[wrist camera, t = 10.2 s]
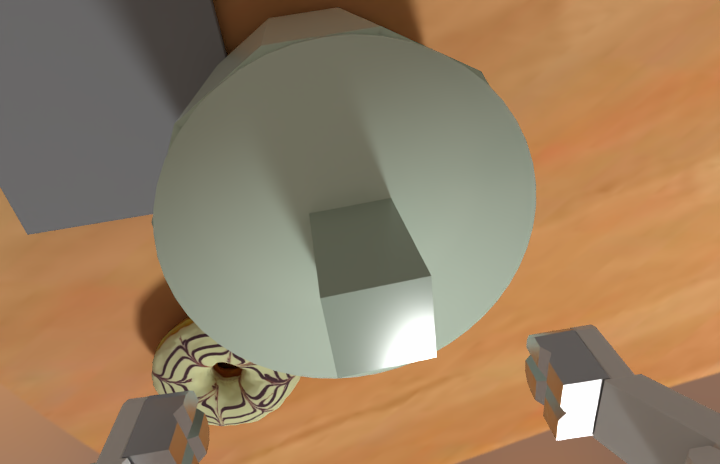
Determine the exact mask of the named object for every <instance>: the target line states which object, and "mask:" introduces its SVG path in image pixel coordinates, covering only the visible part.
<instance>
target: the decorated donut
mask: <svg viewBox="0 0 720 464" xmlns="http://www.w3.org/2000/svg"><path fill="white" fill-rule="evenodd" d="M218 362H225V363H230V364H233V365H235V366H238V367H239V368H235V369H232V368H221V367H219V366H218V365H217V363H218ZM152 363H153V369H152V380H153V386H154V387H155V389H156V391H157V392H158V394H159V395H160V394H167V393H175V392H182V391H194V392H195V394H196V396H197V398H198V400H199V401H198V405H197V409H199V410H201V411H202V412H204V413H205V415H206V417H207V420H208V425H217V426H226V425H238V424H242V423H251V422H255V421H258V420H260V419H261V418H263V417H265V416H266V415H267V414H268V413H270V412H272V411H274V410H276V409H278V408H279V407H280V406H281V404H282V403H283V402H284V400H285V398H286V397H287V396H288V395H289V394H290V393H291V392H292V390H293V389H294V387H295V386H296V384H297V383H298V381H299V379H300V377H301V376H296V375H291V374H287V373H282V372H278V371H274V370H271V369H268V368H265V367H262V366H259V365H256V364H254V363H252V362H250V361H248V360H246V359H243V358H241V357H239V356H237V355H235V354H234V353H232V352H231V351H229V350H227V349H226V348H224V347H223V346H221V345H219V344H218V343H217V342H216V341H214V340H213V339H212V338H211V337H209V336H208V335H207V334H206V333H204V332H203V331H202V330H201V329H200V328H199V327H198V326H197V325H196V324H195V323H194V321H193V320H192V319H191V318H190V317H189V316H188V317H187V318H185V319H184V321H182V322H180V323H179V324H178V325H177V326H175V328H174V329H172V330H171V331H169V333H168V334H167V335H166V336H165V337H164V338H163V339H162V340H161V342H160V344H159V345H158V347H157V350H156V352H155V356H154V359H153V362H152Z"/></svg>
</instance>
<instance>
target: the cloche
mask: <svg viewBox="0 0 720 464" xmlns="http://www.w3.org/2000/svg"><path fill="white" fill-rule="evenodd" d="M535 209H536V181H535V174H534V167H533V162H532V158H531V155H530V152H529V148H528V145H527V142H526V139H525V137H524V135H523V133H522V131H521V129H520V127H519V125H518V123H517V121H516V119H515V118H514V116H513V115H512V113H511V112H510V110H509V109H508V107H507V106H506V104H505V103H504V102H503V100H502V99H501V98H500V97H499V96H498V95H497V94H496V93H495V92H494V91H493V90H492V89H491V87H490V86H489V84H488V82H487V81H486V79H485V77H484V75H483V74H482V72H481V71H479V70H477V69H475V68H472V67H470V66H468V65H466V64H464V63H461V62H459V61H457V60H455V59H453V58H450V57H448V56H446V55H444V54H441V53H439V52H437V51H435V50H433V49H430V48H428V47H426V46H424V45H422V44H419V43H417V42H415V41H413V40H410V39H408V38H406V37H404V36H402V35H399V34H397V33H395V32H393V31H391V30H388V29H386V28H384V27H382V26H379V25H377V24H375V23H373V22H370V21H368V20H366V19H363V18H361V17H359V16H357V15H354V14H352V13H350V12H348V11H345V10H343V9H341V8H338V7H337V8H331V9H324V10H318V11H311V12H305V13H299V14H292V15H286V16H280V17H273V18H268V19H267V20H266V21H265V22H264V23H263V24H262V25H261V26H260V27H258V28H257V29H256V30H255V31H254V32H253V33H252V34H251V35H250V36H249V37H248V38H246V39H245V40H244V41H243V42H242V43H241V44H240V45H239V46H238V47H237V48H235V49H234V50H233V51H232V52H231V53H230V54H229V55H228V56H227V57H226V58H225V59H223V60H222V61H221V62H220V63H219V64H218V65H217V66H216V68H215V69H214V70H213V72H212V73H211V75H210V76H209V77H208V79H207V80H206V81H205V83H204V84H203V85H202V87H201V88H200V90H199V91H198V92H197V94H196V95H195V96H194V98H193V99H192V100H191V102H190V103H189V105H188V106H187V107H186V109H185V110H184V111H183V113H182V114H181V115H180V117H179V118H178V120H177V121H176V122H175V124H174V127H173V132H172V136H171V140H170V145H169V149H168V153H167V156H166V158H165V160H164V164H163V167H162V170H161V173H160V176H159V180H158V183H157V187H156V194H155V201H154V208H153V218H152V225H153V228H154V239H155V244H156V250H157V256H158V259H159V262H160V265H161V268H162V271H163V274H164V277H165V279H166V281H167V283H168V285H169V287H170V289H171V291H172V293H173V295H174V297H175V298H176V300H177V301H178V303H179V304H180V305H181V307H182V308H183V309H184V311H185V312H186V314H187V315H188V316H189V317H190V318H191V319H192V320H193V321H194V323H195V324H196V325H197V326H198V327H199V328H200V329H201V330H202V331H203V332H204V333H206V334H207V335H208V336H209V337H211V338H212V339H213V340H214V341H216V342H217V343H218V344H219V345H221V346H223V347H224V348H226V349H227V350H229V351H231V352H232V353H234V354H235V355H237V356H239V357H241V358H243V359H246V360H248V361H250V362H252V363H254V364H256V365H259V366H262V367H265V368H268V369H271V370H274V371H278V372H282V373H287V374H291V375H296V376H304V377H312V378H349V377H359V376H365V375H371V374H377V373H381V372H384V371H388V370H392V369H396V368H399V367H401V366H404V365H407V364H410V363H412V362H416V361H420V360H425V359H430V358H434V357H436V351H437V350H439V349H441V348H442V347H444V346H446V345H447V344H449V343H451V342H452V341H454V340H455V339H456V338H458V337H459V336H460V335H462V334H463V333H465V332H466V331H467V330H469V329H470V328H471V327H472V326H473V325H474V324H475V323H476V322H477V321H479V320H480V319H481V318H482V317H483V316H484V315H485V314H486V313H487V312H488V310H489V309H490V308H491V307H492V306H493V305H494V304H495V303H496V302H497V300H498V299H499V298H500V296H501V295H502V293H503V292H504V291H505V289H506V288H507V286H508V285H509V284H510V282H511V280H512V278H513V277H514V275H515V273H516V271H517V269H518V268H519V266H520V263H521V261H522V259H523V256H524V254H525V251H526V249H527V246H528V243H529V239H530V236H531V232H532V228H533V223H534V216H535Z"/></svg>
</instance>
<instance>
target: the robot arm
mask: <svg viewBox="0 0 720 464" xmlns="http://www.w3.org/2000/svg"><path fill="white" fill-rule="evenodd" d="M527 349H528V351H529V353H530V354H531V355H530V356H529V357H528V358H527V359H526V361H525V372H526V377H527V382H528V385H529V388H530V391H531V393H532V395H533V397H534V399H535V400H536V401H538V402H539V403H541V404H543V405H544V413H543V416H544V418H545V420H546V422H547V423H548V425H549V427H550V429H551V431H552V433H553V434H554V437H555V438H556V440H562V439H569V438H576V437H584V436H591V435H594V436H593V437H594V438H595V439H596V440H598V441H599V442H600V443H602V444H603V445H604V446H606V447H607V448H608V449H609V450H611V451H612V452H613V453H615V454H616V455H617V456H618V457H620V458H621V459H622V460H624V461H625V462H626V463H628V464H720V414H719V413H717V412H716V411H714V410H712V409H709V408H707V407H706V406H704V405H702V404H699V403H698V402H696V401H694V400H692V399H690V398H688V397H685V396H684V395H682V394H680V393H678V392H676V391H674V390H672V389H670V388H668V387H666V386H664V385H662V384H660V383H658V382H656V381H654V380H652V379H650V378H648V377H646V376H644V375H642V374H638V375H634V373H633V372H632V371H631V370H630V368H629V367H628V366H627V365H626V364H625V362H624V361H623V360H622V359H621V357H620V356H619V355H618V354H617V353H616V351H615V350H614V349H613V348H612V346H611V345H610V344H609V343H608V341H607V340H606V339H605V338H604V337H603V335H602V334H601V333H600V332H599V330H598V329H597V328H596V327H595V326H593V325H586V326H580V327H574V328H570V329H562V330H556V331H550V332H545V333H539V334H533V335H529V337H528V339H527ZM198 401H199V400H198V398H197V396H196V394H195V392H194V391H182V392H175V393H167V394H160V395H153V396H148V397H141V398H134V399H128V400H127V401H126V402H125V403H124V404H123V406H122V408H121V410H120V412H119V414H118V416H117V419H116V421H115V423H114V425H113V427H112V430H111V432H110V434H109V436H108V438H107V441H106V443H105V445H104V447H103V449H102V452H101V454H100V456H99V458H98V460H97V463H92V464H199V462H200V461H201V459H202V458H203V457H204V456H205V455H206V454H207V450H208V445H209V425H208V420H207V417H206V415H205V413H204V412H202V411H201V410H199V409H197V405H198Z"/></svg>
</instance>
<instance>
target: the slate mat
mask: <svg viewBox="0 0 720 464" xmlns="http://www.w3.org/2000/svg"><path fill="white" fill-rule="evenodd" d="M226 57H227V54H226V50H225V46H224V42H223V38H222V35H221V31H220V27H219V23H218V19H217V16H216V12H215V8H214V4H213V0H0V187H1V189H2V191H3V193H4V194H5V196H6V198H7V200H8V201H9V203H10V205H11V207H12V208H13V210H14V212H15V214H16V215H17V217H18V219H19V220H20V222H21V224H22V226H23V227H24V229H25V231H26V233H27V234H28V235H29V234H35V233H41V232H47V231H53V230H59V229H65V228H71V227H77V226H83V225H89V224H95V223H101V222H107V221H113V220H119V219H125V218H131V217H137V216H143V215H149V214H153V208H154V201H155V194H156V187H157V183H158V180H159V176H160V173H161V170H162V167H163V164H164V160H165V158H166V156H167V153H168V149H169V145H170V140H171V136H172V132H173V127H174V124H175V122H176V121H177V120H178V118H179V117H180V115H181V114H182V113H183V111H184V110H185V109H186V107H187V106H188V105H189V103H190V102H191V100H192V99H193V98H194V96H195V95H196V94H197V92H198V91H199V90H200V88H201V87H202V85H203V84H204V83H205V81H206V80H207V79H208V77H209V76H210V75H211V73H212V72H213V70H214V69H215V68H216V66H217V65H218V64H219V63H220V62H221V61H222V60H223V59H225V58H226Z"/></svg>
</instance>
